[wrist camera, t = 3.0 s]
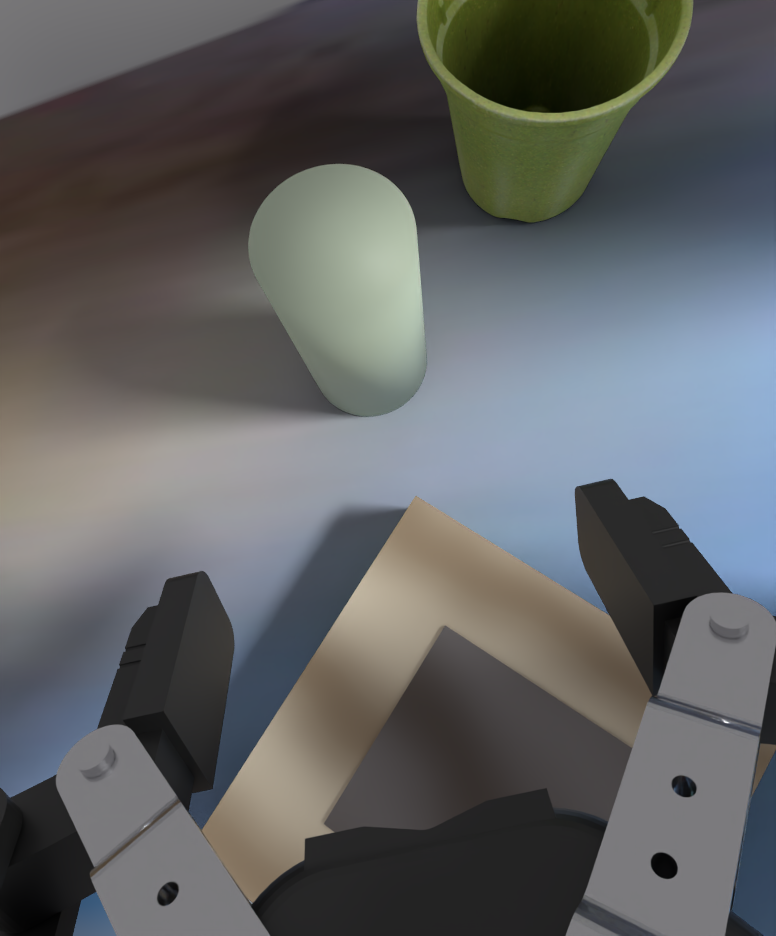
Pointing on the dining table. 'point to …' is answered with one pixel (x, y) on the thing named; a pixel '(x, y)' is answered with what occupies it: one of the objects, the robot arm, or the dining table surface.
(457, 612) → the birch base
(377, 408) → the sage post
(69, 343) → the dining table surface
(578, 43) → the plant pot
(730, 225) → the dining table surface
